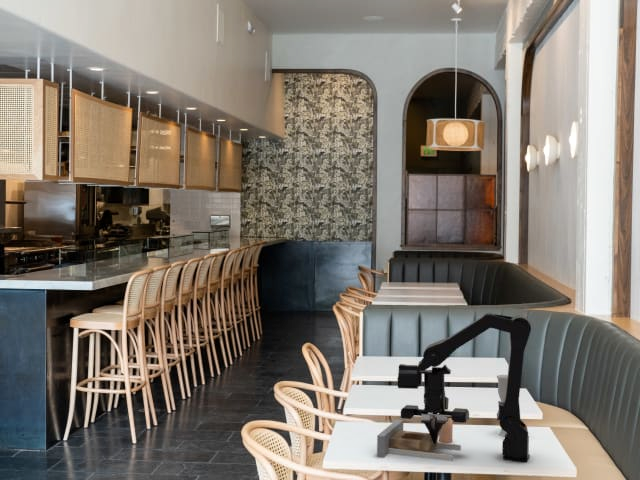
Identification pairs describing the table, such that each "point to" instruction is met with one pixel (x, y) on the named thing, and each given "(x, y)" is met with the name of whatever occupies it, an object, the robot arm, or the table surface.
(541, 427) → the table surface
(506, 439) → the robot arm
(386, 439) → the backstop
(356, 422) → the table surface
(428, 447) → the socket block
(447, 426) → the dowel
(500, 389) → the chalice
